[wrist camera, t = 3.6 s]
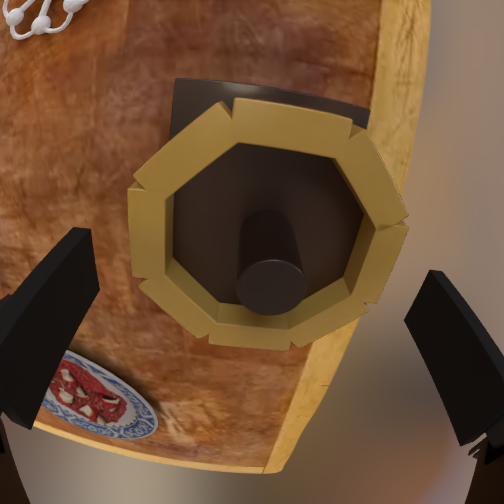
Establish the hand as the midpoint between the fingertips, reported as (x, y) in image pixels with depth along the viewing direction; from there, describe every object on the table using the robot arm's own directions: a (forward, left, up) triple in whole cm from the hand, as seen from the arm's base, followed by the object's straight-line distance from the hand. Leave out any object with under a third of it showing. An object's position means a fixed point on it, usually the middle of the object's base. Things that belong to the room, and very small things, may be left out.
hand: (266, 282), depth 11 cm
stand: (0, 0, -12) cm, 12 cm away
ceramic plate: (+22, +34, -13) cm, 42 cm away
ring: (0, 0, -3) cm, 3 cm away
